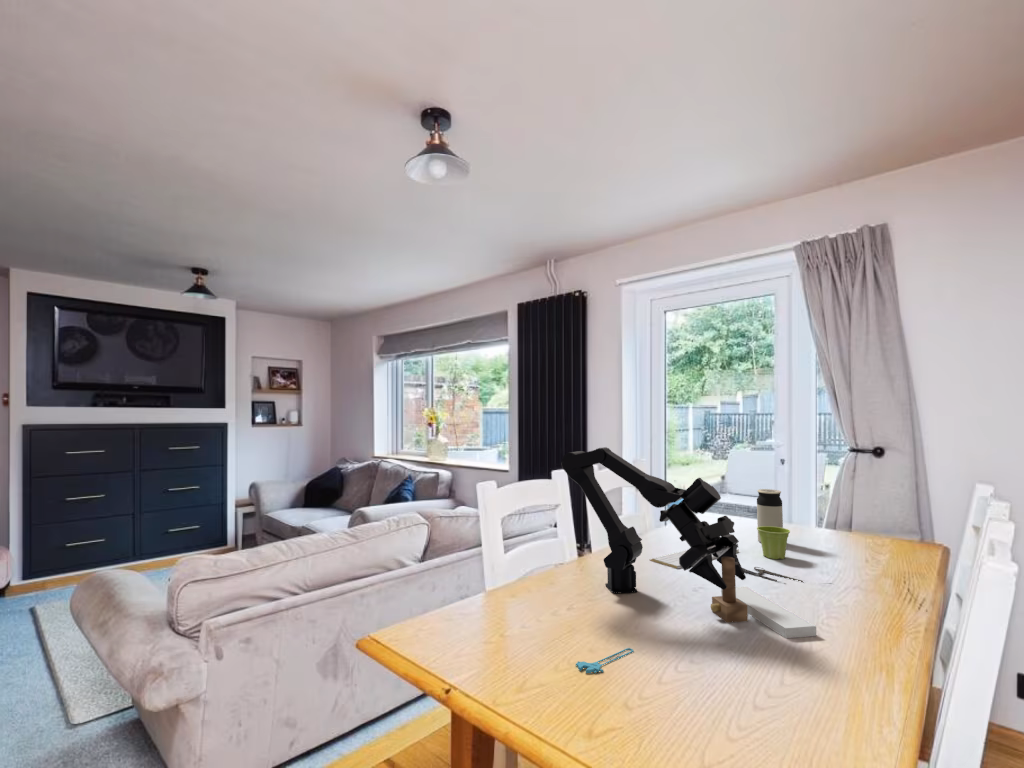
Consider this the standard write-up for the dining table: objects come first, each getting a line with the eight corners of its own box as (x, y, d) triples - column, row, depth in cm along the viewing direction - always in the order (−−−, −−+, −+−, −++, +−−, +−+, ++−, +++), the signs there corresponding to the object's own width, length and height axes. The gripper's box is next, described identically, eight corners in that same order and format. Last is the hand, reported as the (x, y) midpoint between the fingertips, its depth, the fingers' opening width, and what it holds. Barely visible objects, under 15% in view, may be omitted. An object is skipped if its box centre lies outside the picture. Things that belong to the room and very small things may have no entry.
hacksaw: (734, 572, 150) (734, 567, 150) (753, 565, 156) (752, 560, 156) (823, 596, 130) (823, 590, 130) (841, 587, 136) (841, 581, 136)
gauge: (720, 623, 113) (718, 563, 114) (705, 612, 119) (704, 555, 120) (747, 621, 114) (746, 561, 115) (732, 610, 120) (730, 554, 121)
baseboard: (645, 561, 162) (677, 571, 152) (645, 551, 162) (677, 561, 152) (707, 545, 179) (738, 554, 169) (706, 537, 179) (738, 545, 169)
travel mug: (762, 545, 177) (760, 492, 178) (755, 539, 185) (753, 488, 186) (786, 545, 176) (785, 492, 177) (778, 540, 184) (777, 489, 185)
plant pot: (760, 551, 170) (759, 524, 170) (793, 555, 164) (792, 528, 165) (754, 558, 162) (754, 530, 163) (788, 563, 157) (787, 534, 157)
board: (785, 638, 106) (785, 628, 106) (721, 596, 129) (721, 588, 130) (816, 635, 107) (816, 625, 107) (747, 594, 130) (747, 586, 131)
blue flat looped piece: (591, 674, 91) (571, 662, 95) (591, 679, 91) (571, 668, 95) (642, 651, 99) (621, 641, 103) (642, 656, 99) (621, 646, 103)
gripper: (690, 510, 115) (740, 572, 106) (729, 500, 127) (777, 555, 118) (659, 540, 120) (705, 601, 112) (700, 527, 133) (744, 581, 124)
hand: (735, 583), depth 116 cm, fingers open, 9 cm apart
